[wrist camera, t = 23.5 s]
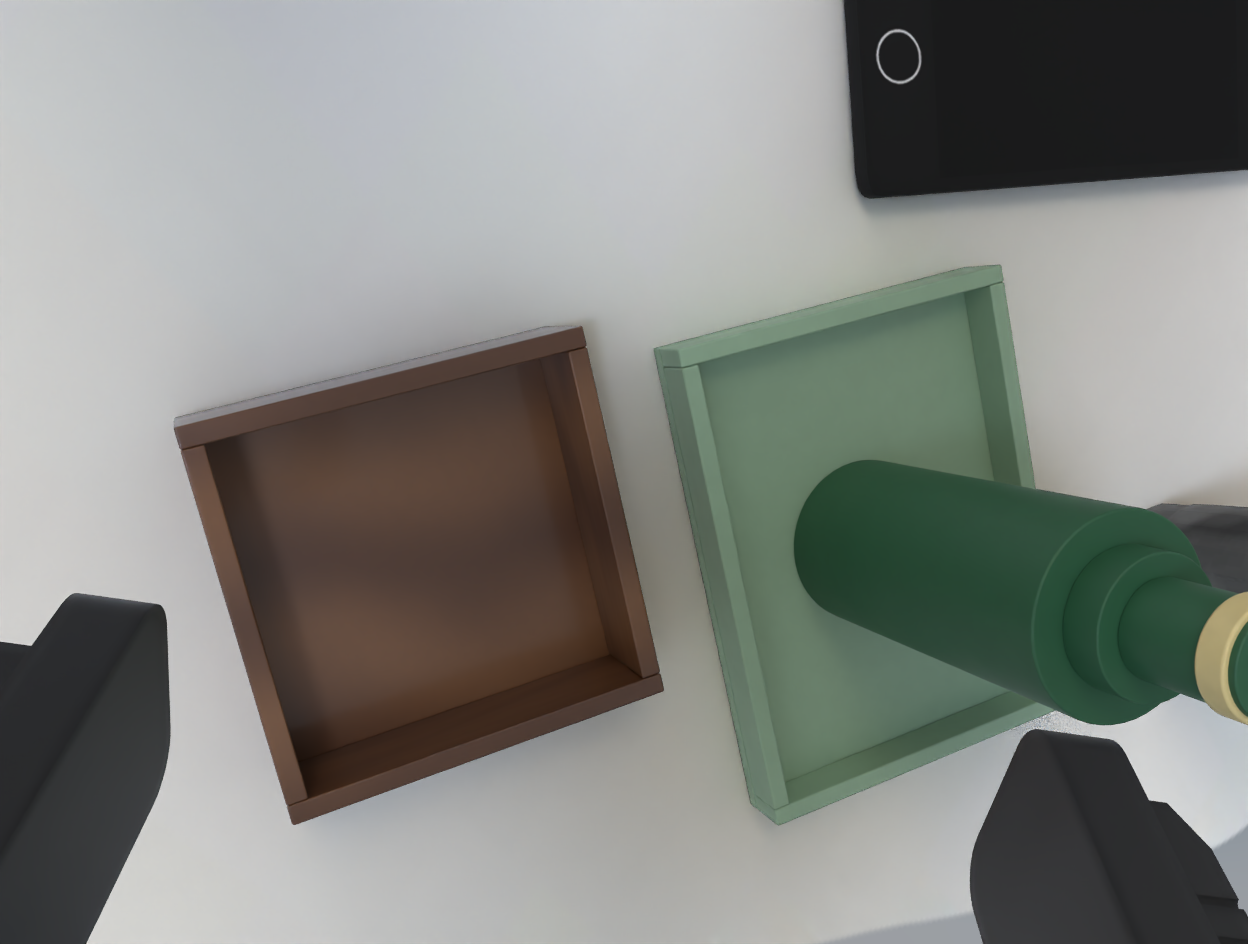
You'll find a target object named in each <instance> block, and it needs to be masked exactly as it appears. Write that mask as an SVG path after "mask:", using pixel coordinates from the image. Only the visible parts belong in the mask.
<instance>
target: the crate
mask: <svg viewBox="0 0 1248 944" xmlns="http://www.w3.org/2000/svg"><path fill="white" fill-rule="evenodd" d="M174 431H175V435H176V438H177V441H178V445H179V448H180V449H181V455H182V458H183V461H184V465H185V468H186V471H187V475H188V478H189V481H190V485H191V488H192V491H193V495H194V498H195V501H196V505H197V508H198V511H199V515H200V518H201V521H202V525H203V528H204V531H205V535H206V538H207V541H208V545H209V548H210V551H211V555H212V558H213V562H214V565H215V568H216V572H217V575H218V578H219V582H220V585H221V588H222V592H223V595H224V598H225V602H226V605H227V608H228V612H229V615H230V618H231V622H232V625H233V628H234V632H235V635H236V638H237V642H238V645H239V648H240V652H241V655H242V658H243V662H244V665H245V668H246V672H247V675H248V678H249V682H250V685H251V688H252V692H253V695H254V698H255V702H256V705H257V708H258V712H259V715H260V719H261V722H262V725H263V729H264V732H265V735H266V739H267V742H268V745H269V749H270V752H271V755H272V759H273V762H274V765H275V769H276V772H277V775H278V779H279V782H280V785H281V789H282V792H283V795H284V799H285V802H286V805H287V809H288V812H289V815H290V819H291V822H292V824H293V825H296V824H299V823H302V822H304V821H307V820H310V819H313V818H315V817H318V816H321V815H324V814H326V813H329V812H332V811H335V810H337V809H340V808H343V807H346V806H348V805H351V804H354V803H357V802H359V801H362V800H365V799H368V798H370V797H373V796H376V795H379V794H382V793H384V792H387V791H390V790H393V789H395V788H398V787H401V786H404V785H406V784H409V783H412V782H415V781H417V780H420V779H423V778H426V777H428V776H431V775H434V774H437V773H439V772H442V771H445V770H448V769H450V768H453V767H456V766H459V765H461V764H464V763H467V762H470V761H473V760H475V759H478V758H481V757H484V756H486V755H489V754H492V753H495V752H497V751H500V750H503V749H506V748H508V747H511V746H514V745H517V744H519V743H522V742H525V741H528V740H530V739H533V738H536V737H539V736H541V735H544V734H547V733H550V732H553V731H555V730H558V729H561V728H564V727H566V726H569V725H572V724H575V723H577V722H580V721H583V720H586V719H588V718H591V717H594V716H597V715H599V714H602V713H605V712H608V711H610V710H613V709H616V708H619V707H621V706H624V705H627V704H630V703H632V702H635V701H638V700H641V699H644V698H646V697H649V696H652V695H655V694H657V693H660V692H663V691H664V687H663V683H662V678H661V675H660V673H659V672H660V670H659V665H658V661H657V656H656V652H655V647H654V643H653V639H652V634H651V630H650V625H649V621H648V616H647V612H646V608H645V603H644V599H643V594H642V590H641V585H640V581H639V577H638V572H637V568H636V563H635V559H634V554H633V550H632V546H631V541H630V537H629V532H628V528H627V523H626V519H625V514H624V510H623V506H622V501H621V497H620V492H619V488H618V483H617V479H616V475H615V470H614V466H613V461H612V457H611V452H610V448H609V444H608V439H607V435H606V430H605V426H604V421H603V417H602V412H601V408H600V404H599V399H598V395H597V390H596V386H595V381H594V377H593V373H592V368H591V364H590V359H589V355H588V350H587V348H586V340H585V336H584V331H583V327H582V326H551V327H542V328H538V329H534V330H530V331H525V332H521V333H517V334H513V335H509V336H505V337H501V338H497V339H493V340H489V341H485V342H481V343H477V344H473V345H469V346H465V347H461V348H456V349H452V350H448V351H444V352H440V353H436V354H432V355H428V356H424V357H420V358H416V359H412V360H408V361H404V362H400V363H396V364H392V365H387V366H383V367H379V368H375V369H371V370H367V371H363V372H359V373H355V374H351V375H347V376H343V377H339V378H335V379H331V380H327V381H323V382H319V383H314V384H310V385H306V386H302V387H298V388H294V389H290V390H286V391H282V392H278V393H274V394H270V395H266V396H262V397H258V398H254V399H250V400H245V401H241V402H237V403H233V404H229V405H225V406H221V407H217V408H213V409H209V410H205V411H201V412H197V413H193V414H189V415H185V416H181V417H176V418H175V419H174Z"/></svg>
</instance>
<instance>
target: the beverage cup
mask: <svg viewBox="0 0 1248 944" xmlns="http://www.w3.org/2000/svg"><path fill="white" fill-rule="evenodd" d="M1147 510H1150V511H1153V512H1155V513H1158V514H1160V515H1162V516H1164V517H1165V518H1167V519H1168V520H1170V521H1171V522H1173V523H1174V524H1175V525H1176V526H1177V527H1178V528H1179V529H1180V530H1181V531H1182V532H1183V533H1184V534H1185V536H1186V537H1187V538H1188V540H1189V541H1190V543H1191V544H1192V546H1193V548H1194V550H1195V552H1196V554H1197V556H1198V559H1199V561H1200V564H1201V568H1202V570H1203V571H1204V572H1205V573H1206V575H1207V577H1208V578H1209V580H1210V582H1211V584H1212V587H1215V588H1219V589H1223V590H1227V591H1231V592H1235V593H1239V594H1240V593H1244V592H1248V507H1236V506H1221V505H1204V504H1193V505H1177V504H1160V505H1157V506H1154V507H1151V508H1149V509H1147Z"/></svg>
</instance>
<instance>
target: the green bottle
mask: <svg viewBox="0 0 1248 944" xmlns="http://www.w3.org/2000/svg"><path fill="white" fill-rule="evenodd" d="M794 557H795V564H796V568H797V572H798V575H799V577H800V580H801V582H802V584H803V586H804V588H805V590H806V591H807V593H808V594H809V595H810V597H811V598H812V599H813V600H814V601H815V602H816V603H817V604H818V605H819V606H820V607H822V608H823V609H824V610H826V611H827V612H829V613H831V614H833V615H835V616H838V617H840V618H842V619H845V620H847V621H849V622H851V623H854V624H856V625H858V626H861V627H863V628H865V629H868V630H870V631H872V632H875V633H877V634H879V635H882V636H884V637H886V638H889V639H891V640H893V641H896V642H898V643H900V644H903V645H905V646H907V647H910V648H912V649H914V650H917V651H919V652H921V653H924V654H926V655H928V656H931V657H933V658H935V659H938V660H940V661H942V662H945V663H947V664H949V665H952V666H954V667H956V668H959V669H961V670H963V671H966V672H968V673H970V674H972V675H975V676H977V677H979V678H982V679H984V680H986V681H989V682H991V683H993V684H996V685H998V686H1000V687H1003V688H1005V689H1007V690H1010V691H1012V692H1014V693H1017V694H1019V695H1021V696H1024V697H1026V698H1028V699H1031V700H1033V701H1035V702H1038V703H1040V704H1042V705H1045V706H1047V707H1049V708H1052V709H1054V710H1056V711H1059V712H1061V713H1063V714H1066V715H1068V716H1070V717H1073V718H1075V719H1077V720H1080V721H1083V722H1086V723H1089V724H1096V725H1114V724H1120V723H1125V722H1128V721H1131V720H1134V719H1136V718H1138V717H1140V716H1142V715H1144V714H1146V713H1148V712H1149V711H1151V710H1152V709H1154V708H1155V707H1157V706H1158V705H1159V704H1160V703H1162V702H1165V701H1168V700H1170V699H1172V698H1174V697H1176V696H1177V695H1179V694H1183V695H1186V696H1189V697H1192V698H1194V699H1197V700H1200V701H1203V702H1205V703H1207V704H1208V705H1209V706H1210V708H1211V709H1213V710H1214V711H1215V712H1216V713H1218V714H1220V715H1222V716H1224V717H1227V718H1230V719H1233V720H1235V721H1238V722H1241V723H1243V724H1246V725H1248V592H1244V593H1240V594H1239V593H1235V592H1231V591H1227V590H1223V589H1219V588H1215V587H1212V584H1211V582H1210V580H1209V578H1208V577H1207V575H1206V573H1205V572H1204V571H1203V570H1202V568H1201V564H1200V561H1199V559H1198V556H1197V554H1196V552H1195V550H1194V548H1193V546H1192V544H1191V543H1190V541H1189V540H1188V538H1187V537H1186V536H1185V534H1184V533H1183V532H1182V531H1181V530H1180V529H1179V528H1178V527H1177V526H1176V525H1175V524H1174V523H1173V522H1171V521H1170V520H1168V519H1167V518H1165V517H1164V516H1162V515H1160V514H1158V513H1155V512H1153V511H1150V510H1146V509H1142V508H1137V507H1132V506H1126V505H1121V504H1115V503H1110V502H1104V501H1099V500H1093V499H1088V498H1082V497H1077V496H1072V495H1066V494H1061V493H1055V492H1050V491H1044V490H1039V489H1033V488H1028V487H1022V486H1017V485H1011V484H1006V483H1001V482H995V481H990V480H984V479H979V478H973V477H968V476H962V475H957V474H951V473H946V472H940V471H935V470H930V469H924V468H919V467H913V466H908V465H902V464H897V463H891V462H886V461H880V460H860V461H856V462H852V463H849V464H846V465H844V466H842V467H840V468H838V469H836V470H834V471H833V472H832V473H830V474H829V475H828V476H826V477H825V478H824V479H823V480H822V481H821V482H820V483H819V484H818V485H817V486H816V487H815V488H814V490H813V491H812V492H811V494H810V495H809V497H808V498H807V500H806V501H805V503H804V506H803V508H802V510H801V512H800V515H799V518H798V521H797V525H796V529H795V536H794Z"/></svg>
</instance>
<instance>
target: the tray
mask: <svg viewBox="0 0 1248 944" xmlns="http://www.w3.org/2000/svg"><path fill="white" fill-rule="evenodd" d="M1002 281H1003V274H1002V268H1001V265H989V266H977V267H964V268H960V269H957V270H953V271H949V272H945V273H941V274H937V275H934V276H930V277H926V278H922V279H918V280H914V281H911V282H907V283H903V284H899V285H895V286H891V287H888V288H884V289H880V290H876V291H872V292H868V293H865V294H861V295H857V296H853V297H849V298H845V299H841V300H838V301H834V302H830V303H826V304H822V305H818V306H815V307H811V308H807V309H803V310H799V311H795V312H792V313H788V314H784V315H780V316H776V317H772V318H769V319H765V320H761V321H757V322H753V323H749V324H746V325H742V326H738V327H734V328H730V329H726V330H723V331H719V332H715V333H711V334H707V335H703V336H700V337H696V338H692V339H688V340H684V341H680V342H677V343H673V344H669V345H665V346H661V347H657V348H655V349H654V353H655V358H656V362H657V367H658V372H659V376H660V381H661V386H662V390H663V395H664V400H665V404H666V409H667V414H668V418H669V423H670V428H671V432H672V437H673V442H674V446H675V451H676V456H677V460H678V465H679V470H680V474H681V479H682V484H683V488H684V493H685V498H686V502H687V507H688V512H689V516H690V521H691V526H692V530H693V535H694V540H695V544H696V549H697V554H698V558H699V563H700V568H701V572H702V577H703V582H704V586H705V591H706V596H707V600H708V605H709V610H710V614H711V619H712V624H713V628H714V633H715V638H716V642H717V647H718V652H719V656H720V661H721V666H722V670H723V675H724V680H725V684H726V689H727V694H728V698H729V703H730V708H731V712H732V717H733V722H734V726H735V731H736V736H737V740H738V745H739V750H740V754H741V759H742V764H743V768H744V773H745V778H746V782H747V787H748V792H749V796H750V801H751V804H752V805H753V806H754V807H755V808H757V809H758V810H759V811H761V812H762V813H763V814H764V815H766V816H767V817H768V818H769V819H771V820H772V821H773V822H774V823H775V824H777V825H781V824H784V823H786V822H788V821H791V820H793V819H796V818H798V817H800V816H803V815H805V814H808V813H810V812H812V811H815V810H817V809H820V808H822V807H824V806H827V805H829V804H832V803H834V802H836V801H839V800H841V799H844V798H846V797H848V796H851V795H853V794H856V793H858V792H860V791H863V790H865V789H868V788H870V787H872V786H875V785H877V784H880V783H882V782H884V781H887V780H889V779H892V778H894V777H897V776H899V775H901V774H904V773H906V772H909V771H911V770H913V769H916V768H918V767H921V766H923V765H925V764H928V763H930V762H933V761H935V760H937V759H940V758H942V757H945V756H947V755H949V754H952V753H954V752H957V751H959V750H961V749H964V748H966V747H969V746H971V745H973V744H976V743H978V742H981V741H983V740H985V739H988V738H990V737H993V736H995V735H997V734H1000V733H1002V732H1005V731H1007V730H1009V729H1012V728H1014V727H1017V726H1019V725H1021V724H1024V723H1026V722H1029V721H1031V720H1033V719H1036V718H1038V717H1041V716H1043V715H1045V714H1048V713H1050V712H1053V711H1055V710H1054V709H1052V708H1049V707H1047V706H1045V705H1042V704H1040V703H1038V702H1035V701H1033V700H1031V699H1028V698H1026V697H1024V696H1021V695H1019V694H1017V693H1014V692H1012V691H1010V690H1007V689H1005V688H1003V687H1000V686H998V685H996V684H993V683H991V682H989V681H986V680H984V679H982V678H979V677H977V676H975V675H972V674H970V673H968V672H966V671H963V670H961V669H959V668H956V667H954V666H952V665H949V664H947V663H945V662H942V661H940V660H938V659H935V658H933V657H931V656H928V655H926V654H924V653H921V652H919V651H917V650H914V649H912V648H910V647H907V646H905V645H903V644H900V643H898V642H896V641H893V640H891V639H889V638H886V637H884V636H882V635H879V634H877V633H875V632H872V631H870V630H868V629H865V628H863V627H861V626H858V625H856V624H854V623H851V622H849V621H847V620H845V619H842V618H840V617H838V616H835V615H833V614H831V613H829V612H827V611H826V610H824V609H823V608H822V607H820V606H819V605H818V604H817V603H816V602H815V601H814V600H813V599H812V598H811V597H810V595H809V594H808V593H807V591H806V590H805V588H804V586H803V584H802V582H801V580H800V577H799V575H798V572H797V568H796V564H795V557H794V536H795V529H796V525H797V521H798V518H799V515H800V512H801V510H802V508H803V506H804V503H805V501H806V500H807V498H808V497H809V495H810V494H811V492H812V491H813V490H814V488H815V487H816V486H817V485H818V484H819V483H820V482H821V481H822V480H823V479H824V478H825V477H826V476H828V475H829V474H830V473H832V472H833V471H834V470H836V469H838V468H840V467H842V466H844V465H846V464H849V463H852V462H856V461H860V460H880V461H886V462H891V463H897V464H902V465H908V466H913V467H919V468H924V469H930V470H935V471H940V472H946V473H951V474H957V475H962V476H968V477H973V478H979V479H984V480H990V481H995V482H1001V483H1006V484H1011V485H1017V486H1022V487H1028V488H1033V489H1036V488H1035V482H1034V475H1033V469H1032V462H1031V456H1030V449H1029V443H1028V436H1027V430H1026V423H1025V417H1024V410H1023V404H1022V397H1021V391H1020V384H1019V378H1018V371H1017V365H1016V358H1015V352H1014V345H1013V339H1012V332H1011V326H1010V319H1009V312H1008V306H1007V299H1006V293H1005V286H1004V283H1003V282H1002Z"/></svg>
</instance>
